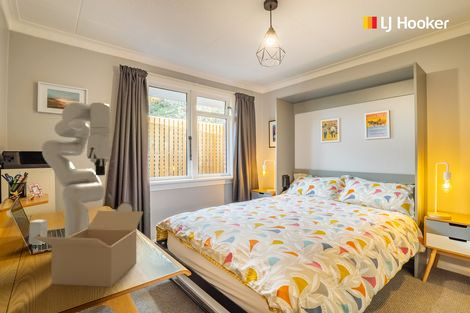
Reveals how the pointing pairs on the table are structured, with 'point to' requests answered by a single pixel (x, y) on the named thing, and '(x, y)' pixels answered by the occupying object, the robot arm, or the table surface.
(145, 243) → the table surface
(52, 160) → the robot arm
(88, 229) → the carton
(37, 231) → the skincare box
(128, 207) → the magnifying glass
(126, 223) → the back flap
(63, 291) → the table surface
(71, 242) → the front flap
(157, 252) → the table surface
